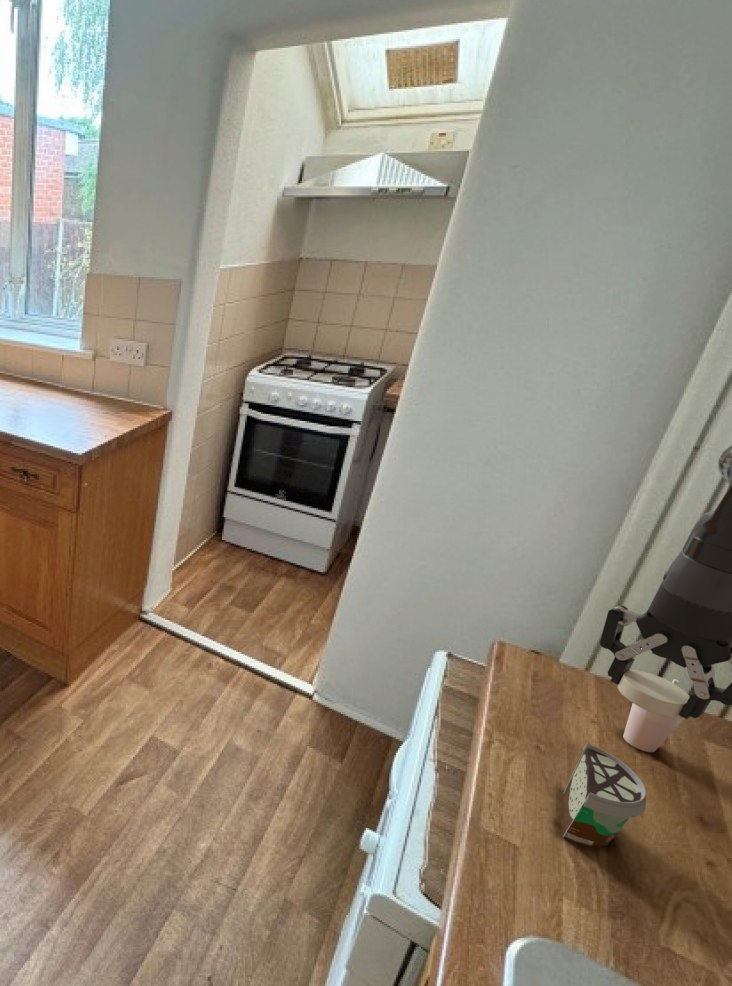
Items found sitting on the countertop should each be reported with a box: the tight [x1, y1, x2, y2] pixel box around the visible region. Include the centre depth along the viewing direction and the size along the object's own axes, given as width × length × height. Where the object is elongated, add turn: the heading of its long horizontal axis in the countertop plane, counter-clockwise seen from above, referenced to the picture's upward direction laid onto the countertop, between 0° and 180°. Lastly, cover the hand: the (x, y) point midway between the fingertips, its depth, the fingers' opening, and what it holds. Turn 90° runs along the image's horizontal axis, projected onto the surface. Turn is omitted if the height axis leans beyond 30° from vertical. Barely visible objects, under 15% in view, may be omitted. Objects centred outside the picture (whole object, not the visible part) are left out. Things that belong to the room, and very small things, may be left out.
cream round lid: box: [617, 669, 690, 716], centre depth 80 cm, size 6×6×3 cm
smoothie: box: [622, 678, 686, 753], centre depth 97 cm, size 6×6×14 cm
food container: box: [562, 742, 648, 848], centre depth 83 cm, size 12×6×10 cm, turn 137°
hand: (650, 697), depth 80 cm, fingers closed on cream round lid, 6 cm apart
